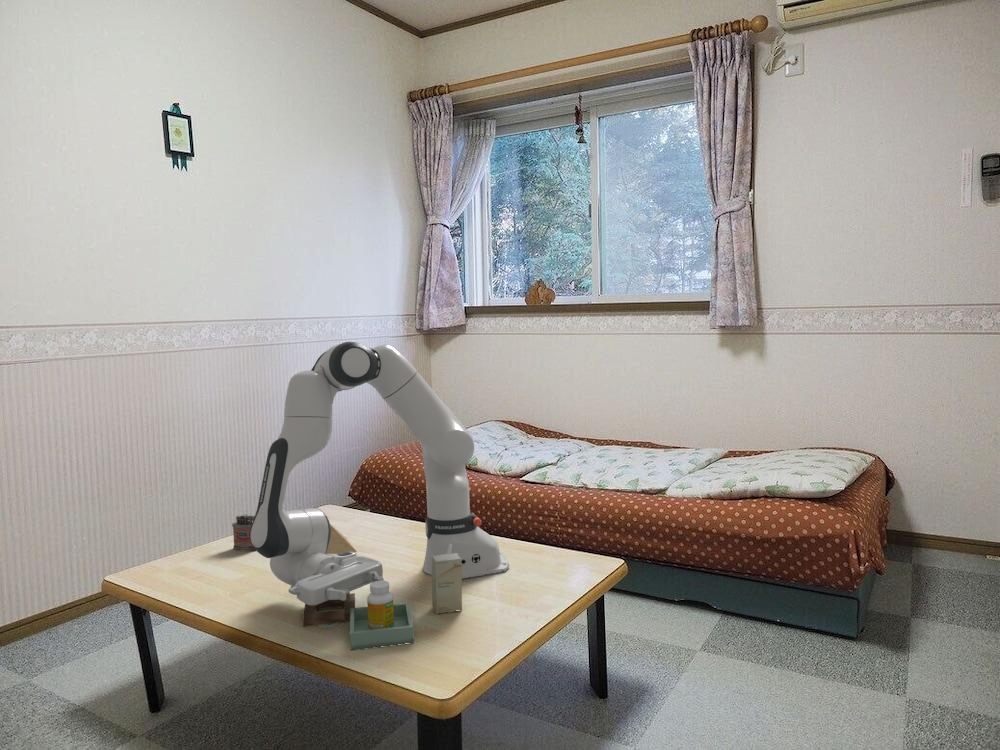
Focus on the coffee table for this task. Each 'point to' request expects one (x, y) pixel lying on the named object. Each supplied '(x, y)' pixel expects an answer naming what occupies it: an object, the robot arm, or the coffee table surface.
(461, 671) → the coffee table surface
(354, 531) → the coffee table surface
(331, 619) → the socket block
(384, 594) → the supplement bottle
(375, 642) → the tray
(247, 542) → the lighter
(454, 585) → the skincare box
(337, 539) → the model pyramid
